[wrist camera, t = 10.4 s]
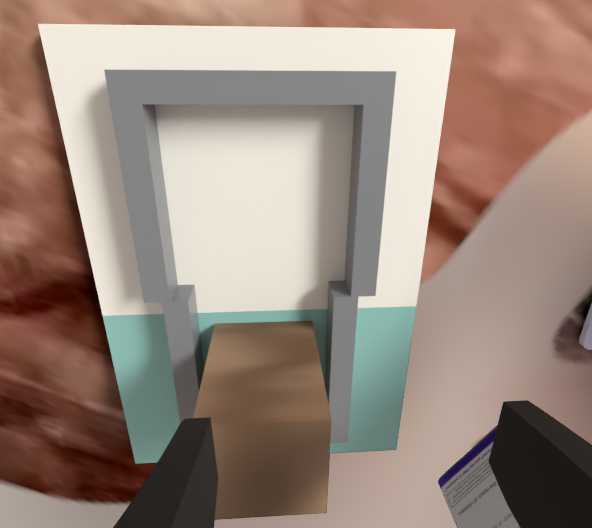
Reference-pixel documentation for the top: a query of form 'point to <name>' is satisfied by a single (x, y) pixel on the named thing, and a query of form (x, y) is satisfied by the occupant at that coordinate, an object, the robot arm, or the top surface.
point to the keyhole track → (253, 201)
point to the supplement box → (476, 490)
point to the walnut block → (267, 419)
